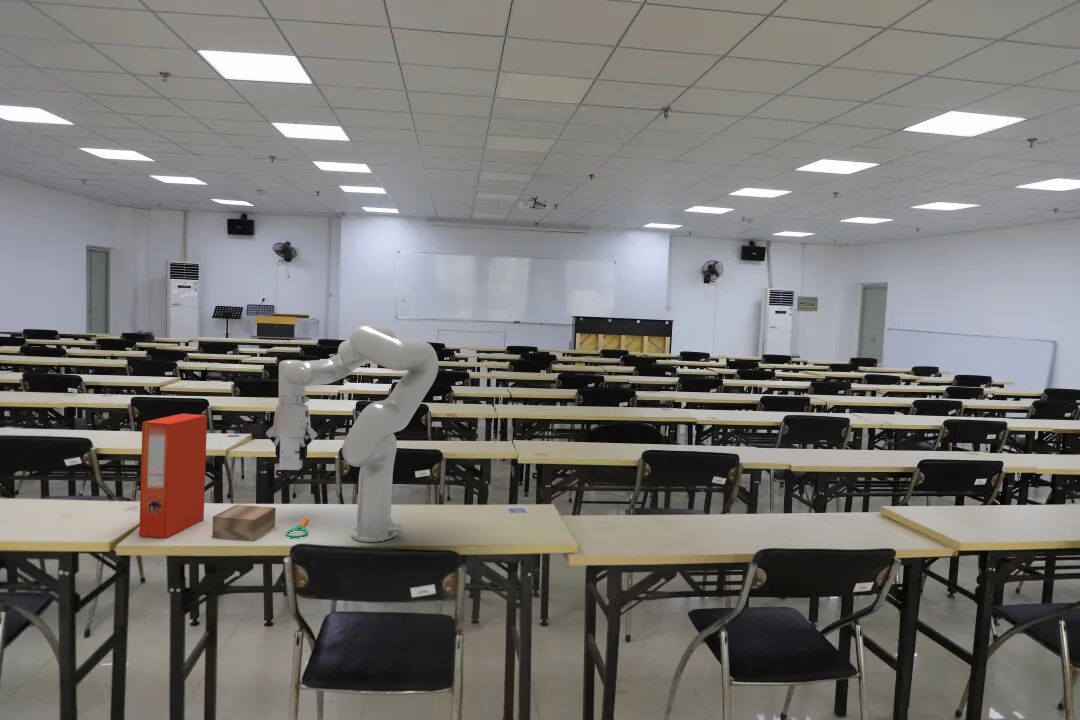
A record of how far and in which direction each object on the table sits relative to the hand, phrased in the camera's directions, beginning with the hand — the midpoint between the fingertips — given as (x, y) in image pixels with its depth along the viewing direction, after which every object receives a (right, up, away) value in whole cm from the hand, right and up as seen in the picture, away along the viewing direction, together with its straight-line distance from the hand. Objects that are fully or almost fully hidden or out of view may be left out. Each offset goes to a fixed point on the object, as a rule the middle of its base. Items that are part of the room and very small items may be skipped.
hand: (291, 458), depth 196 cm
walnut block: (-9, -20, -12) cm, 25 cm away
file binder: (-30, -19, -12) cm, 37 cm away
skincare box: (0, -3, 0) cm, 3 cm away
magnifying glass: (+5, -21, -8) cm, 23 cm away
